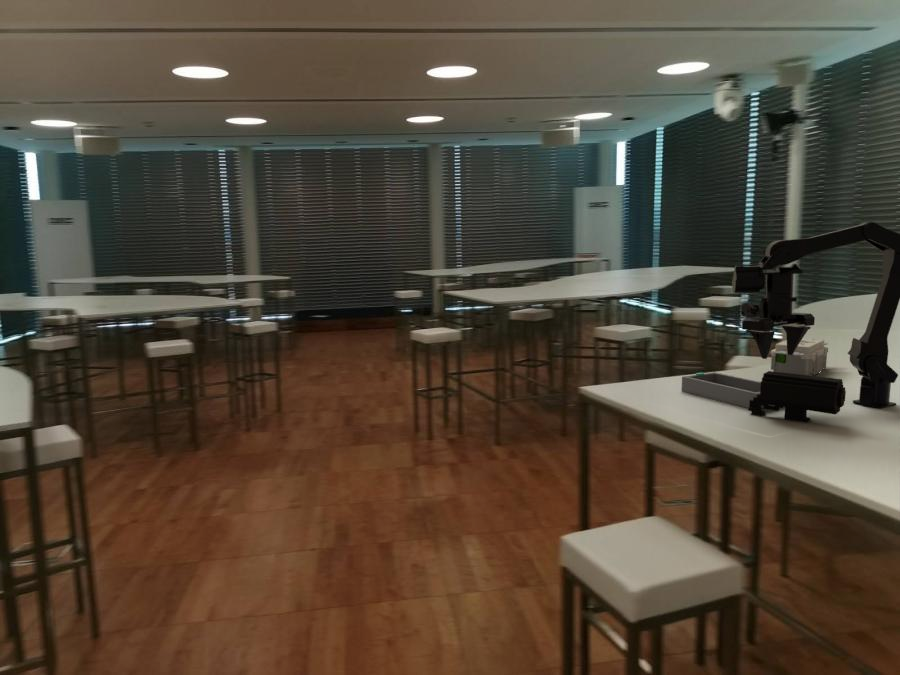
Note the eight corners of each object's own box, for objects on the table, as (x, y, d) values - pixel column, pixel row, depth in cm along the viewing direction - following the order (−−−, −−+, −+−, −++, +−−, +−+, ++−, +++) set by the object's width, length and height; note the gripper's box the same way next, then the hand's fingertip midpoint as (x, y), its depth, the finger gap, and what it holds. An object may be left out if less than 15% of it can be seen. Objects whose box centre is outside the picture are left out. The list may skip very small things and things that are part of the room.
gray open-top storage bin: (713, 386, 172) (714, 370, 172) (789, 404, 152) (790, 386, 151) (681, 391, 167) (682, 375, 167) (755, 410, 147) (756, 392, 146)
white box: (761, 380, 180) (763, 346, 179) (790, 365, 201) (792, 335, 199) (807, 385, 172) (809, 350, 171) (832, 370, 193) (834, 338, 191)
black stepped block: (754, 409, 147) (756, 368, 146) (844, 423, 135) (848, 378, 133) (744, 415, 142) (746, 373, 141) (837, 430, 130) (840, 384, 128)
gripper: (776, 289, 161) (774, 349, 163) (724, 294, 153) (722, 356, 155) (817, 291, 151) (814, 354, 153) (763, 296, 143) (761, 362, 145)
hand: (777, 356), depth 152 cm, fingers open, 9 cm apart
